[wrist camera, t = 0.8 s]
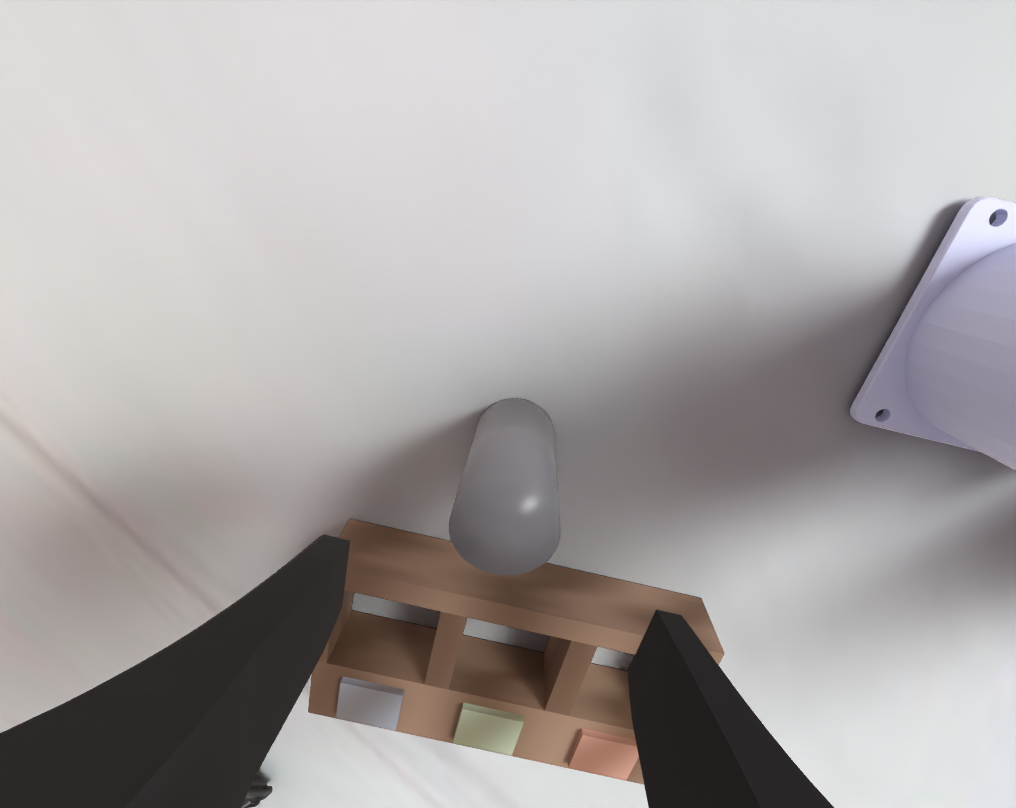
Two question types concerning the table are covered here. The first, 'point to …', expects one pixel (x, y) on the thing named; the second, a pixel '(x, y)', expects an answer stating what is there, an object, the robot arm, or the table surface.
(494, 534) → the peg
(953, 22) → the table surface
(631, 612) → the socket block
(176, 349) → the table surface
